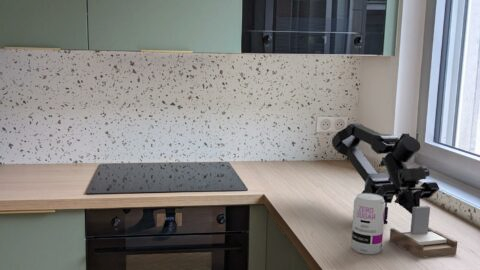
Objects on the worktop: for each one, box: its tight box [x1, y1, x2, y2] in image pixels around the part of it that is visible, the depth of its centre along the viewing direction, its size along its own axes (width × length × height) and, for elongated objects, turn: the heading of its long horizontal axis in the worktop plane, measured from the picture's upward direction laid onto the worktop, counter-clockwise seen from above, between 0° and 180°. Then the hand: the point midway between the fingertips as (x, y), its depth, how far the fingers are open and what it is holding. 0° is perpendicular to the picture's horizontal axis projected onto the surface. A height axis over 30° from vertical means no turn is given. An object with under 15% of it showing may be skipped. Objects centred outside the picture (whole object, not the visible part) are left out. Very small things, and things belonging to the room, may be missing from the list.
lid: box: [405, 205, 447, 245], centre depth 147 cm, size 6×9×9 cm
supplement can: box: [350, 192, 385, 256], centre depth 144 cm, size 8×8×15 cm
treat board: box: [389, 226, 458, 259], centre depth 149 cm, size 14×12×4 cm
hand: (418, 217), depth 150 cm, fingers closed, pressing on lid
